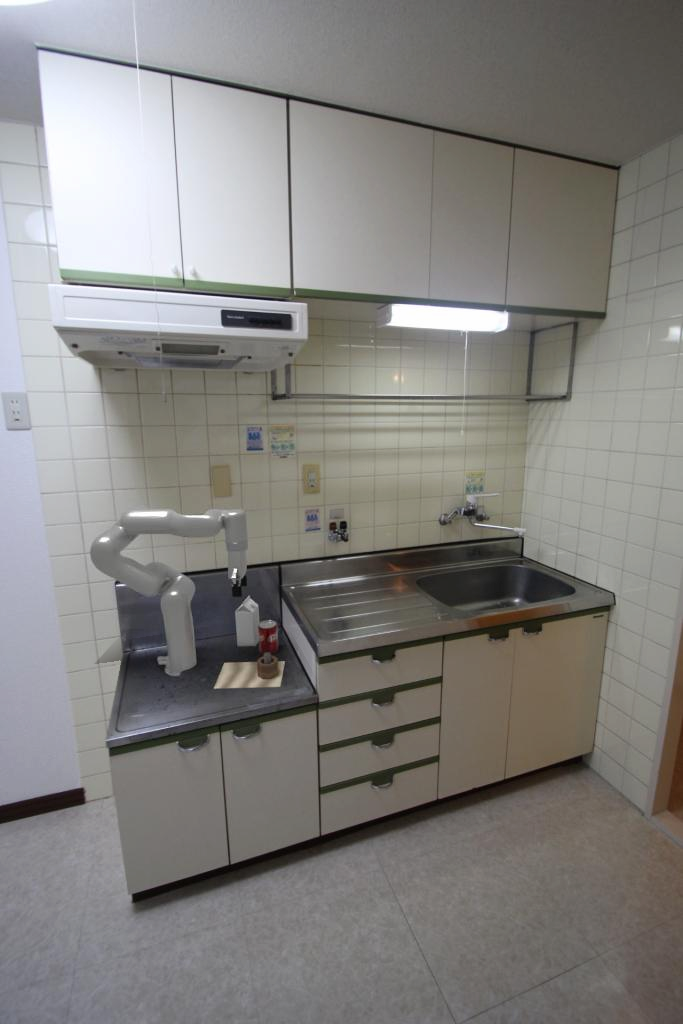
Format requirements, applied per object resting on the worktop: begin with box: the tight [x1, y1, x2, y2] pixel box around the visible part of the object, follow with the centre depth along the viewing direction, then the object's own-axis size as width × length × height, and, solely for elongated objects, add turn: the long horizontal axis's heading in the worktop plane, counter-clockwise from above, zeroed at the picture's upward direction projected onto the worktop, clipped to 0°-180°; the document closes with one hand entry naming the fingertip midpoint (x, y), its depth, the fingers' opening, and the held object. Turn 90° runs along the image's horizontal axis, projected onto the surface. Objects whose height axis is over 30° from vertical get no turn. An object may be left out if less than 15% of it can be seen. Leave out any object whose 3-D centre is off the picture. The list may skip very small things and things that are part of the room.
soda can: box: [258, 619, 279, 655], centre depth 178 cm, size 7×7×12 cm
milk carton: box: [234, 595, 261, 647], centre depth 185 cm, size 7×7×19 cm
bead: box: [256, 654, 279, 679], centre depth 162 cm, size 7×7×5 cm
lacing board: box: [213, 652, 286, 690], centre depth 161 cm, size 22×16×9 cm
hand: (240, 591), depth 166 cm, fingers open, 9 cm apart
